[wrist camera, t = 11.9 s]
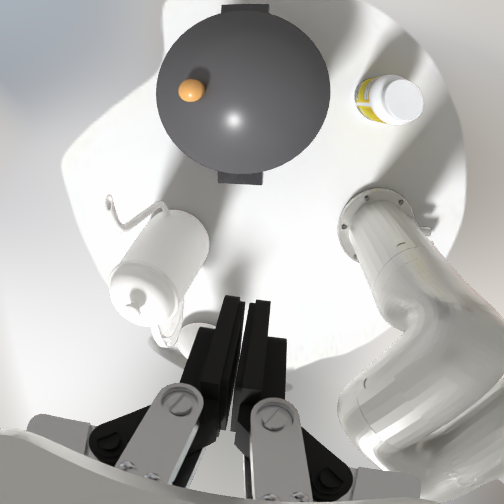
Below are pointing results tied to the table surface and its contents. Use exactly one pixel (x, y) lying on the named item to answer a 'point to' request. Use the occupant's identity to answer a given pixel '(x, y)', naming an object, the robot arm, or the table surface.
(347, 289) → the table surface
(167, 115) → the cooker lid
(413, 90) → the pill bottle
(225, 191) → the table surface
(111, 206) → the coffeepot
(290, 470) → the robot arm
